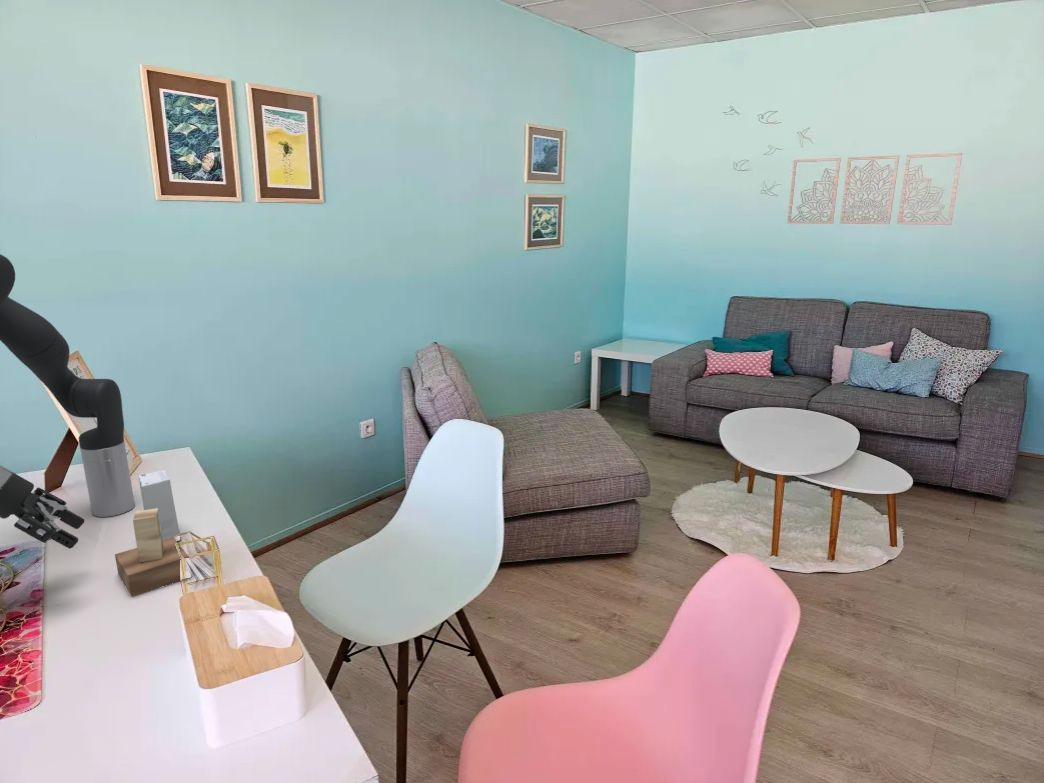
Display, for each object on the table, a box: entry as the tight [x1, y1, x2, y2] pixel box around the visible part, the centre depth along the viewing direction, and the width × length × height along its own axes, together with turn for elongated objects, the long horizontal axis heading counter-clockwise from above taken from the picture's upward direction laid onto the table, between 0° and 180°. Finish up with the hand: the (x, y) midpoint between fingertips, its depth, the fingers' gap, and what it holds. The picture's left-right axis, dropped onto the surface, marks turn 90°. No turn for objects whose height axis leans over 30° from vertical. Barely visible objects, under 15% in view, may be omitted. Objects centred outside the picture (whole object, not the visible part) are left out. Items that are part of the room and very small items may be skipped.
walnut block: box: [114, 538, 190, 598], centre depth 139 cm, size 11×11×5 cm
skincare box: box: [138, 469, 181, 540], centre depth 154 cm, size 8×6×15 cm
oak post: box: [132, 508, 164, 563], centre depth 137 cm, size 5×4×9 cm
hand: (78, 534), depth 133 cm, fingers open, 8 cm apart
